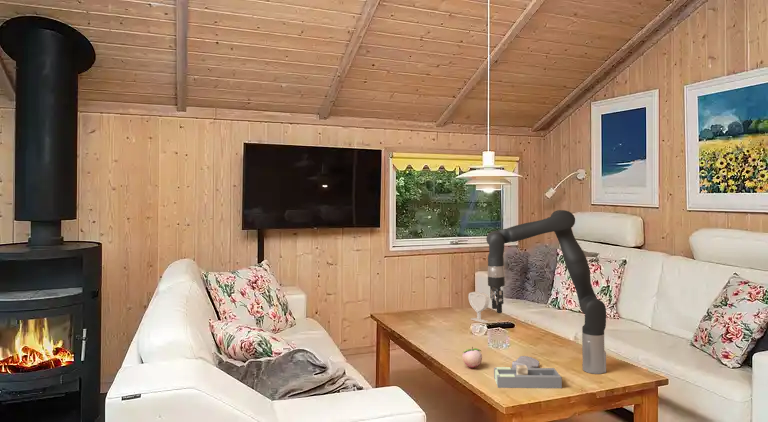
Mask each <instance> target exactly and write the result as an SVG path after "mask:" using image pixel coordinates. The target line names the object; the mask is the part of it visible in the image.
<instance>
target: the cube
mask: <svg viewBox="0 0 768 422" xmlns="http://www.w3.org/2000/svg"><path fill="white" fill-rule="evenodd" d="M516 374H517V375H528V368H527V366H526V365H516Z"/></svg>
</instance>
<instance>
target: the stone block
mask: <svg viewBox="0 0 768 422" xmlns="http://www.w3.org/2000/svg"><path fill="white" fill-rule="evenodd" d="M516 365H526V366H527V368H539V367H540V361H539V360H537V359H536V358H535V357H534V358H533V357H532V356H531V357H530V356H527V355H520V356H519V357H518V358H517V359H516V360H513V361H512V363H511V368H516Z"/></svg>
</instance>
